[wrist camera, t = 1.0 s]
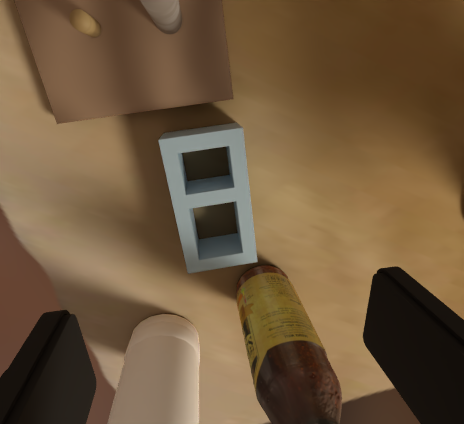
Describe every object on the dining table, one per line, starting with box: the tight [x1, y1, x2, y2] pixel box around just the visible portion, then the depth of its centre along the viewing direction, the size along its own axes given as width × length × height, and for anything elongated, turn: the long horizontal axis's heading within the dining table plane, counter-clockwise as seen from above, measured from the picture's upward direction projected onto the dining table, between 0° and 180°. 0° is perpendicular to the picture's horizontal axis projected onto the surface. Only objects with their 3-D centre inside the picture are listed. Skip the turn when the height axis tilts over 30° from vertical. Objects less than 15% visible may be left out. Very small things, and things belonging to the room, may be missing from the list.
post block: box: [14, 0, 233, 124], centre depth 19 cm, size 14×12×8 cm
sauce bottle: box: [236, 265, 342, 424], centre depth 24 cm, size 6×6×20 cm
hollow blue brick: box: [158, 122, 257, 274], centre depth 26 cm, size 12×6×4 cm, turn 7°
